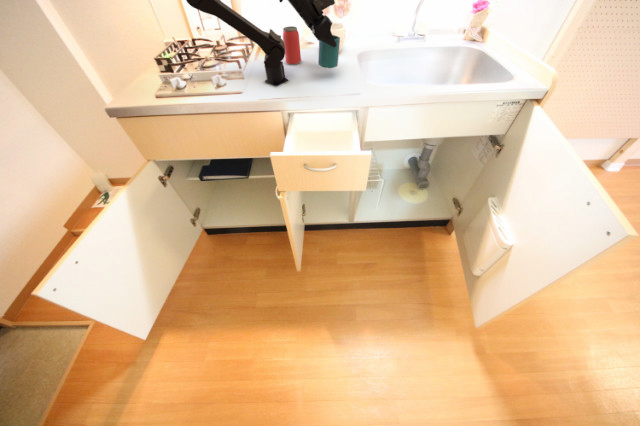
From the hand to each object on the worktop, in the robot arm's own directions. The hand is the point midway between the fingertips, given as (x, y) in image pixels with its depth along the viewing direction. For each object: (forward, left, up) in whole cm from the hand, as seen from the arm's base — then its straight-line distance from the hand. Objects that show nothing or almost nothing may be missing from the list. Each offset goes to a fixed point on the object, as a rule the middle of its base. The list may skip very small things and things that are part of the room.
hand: (332, 43), depth 85 cm
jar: (-2, +1, -7) cm, 7 cm away
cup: (+21, +17, -11) cm, 29 cm away
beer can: (+2, +23, -11) cm, 25 cm away
